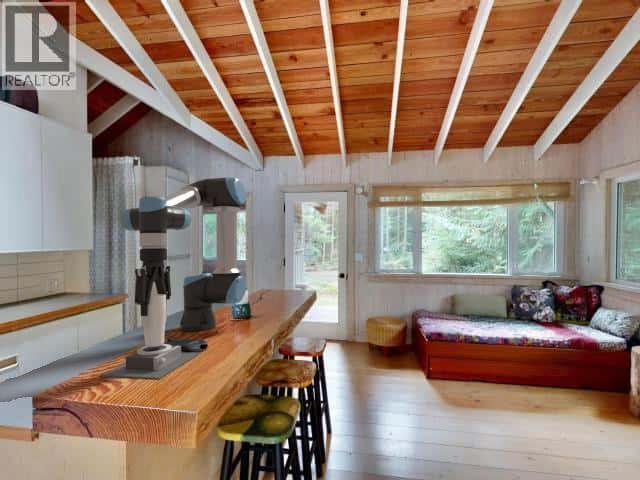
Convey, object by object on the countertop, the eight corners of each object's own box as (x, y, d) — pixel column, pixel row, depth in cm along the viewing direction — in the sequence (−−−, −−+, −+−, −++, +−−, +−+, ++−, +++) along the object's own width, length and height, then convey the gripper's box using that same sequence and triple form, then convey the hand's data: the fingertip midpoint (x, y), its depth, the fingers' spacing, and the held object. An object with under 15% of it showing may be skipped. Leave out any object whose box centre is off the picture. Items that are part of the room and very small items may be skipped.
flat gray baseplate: (151, 352, 119) (151, 337, 119) (200, 353, 116) (200, 339, 116) (100, 376, 97) (99, 359, 97) (159, 379, 94) (159, 361, 94)
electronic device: (159, 357, 119) (197, 353, 115) (158, 340, 120) (196, 336, 116) (177, 352, 128) (213, 349, 124) (176, 336, 129) (212, 332, 125)
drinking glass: (147, 342, 110) (147, 294, 110) (170, 341, 110) (169, 293, 110) (138, 349, 103) (137, 297, 103) (162, 348, 103) (161, 296, 104)
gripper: (161, 247, 117) (162, 316, 117) (118, 248, 98) (119, 331, 98) (182, 247, 116) (183, 317, 116) (143, 247, 97) (144, 332, 96)
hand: (154, 323), depth 107 cm, fingers closed on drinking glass, 7 cm apart
